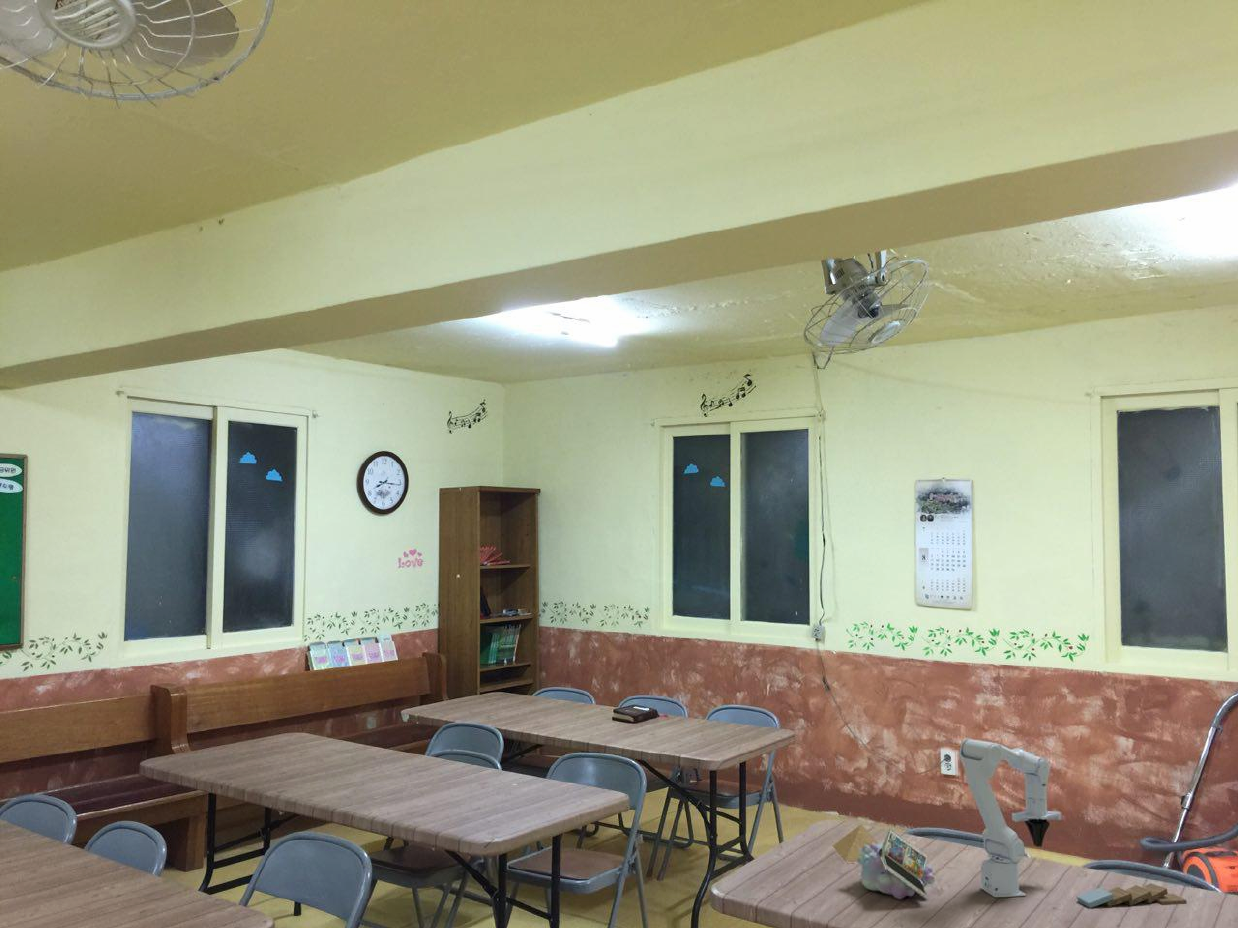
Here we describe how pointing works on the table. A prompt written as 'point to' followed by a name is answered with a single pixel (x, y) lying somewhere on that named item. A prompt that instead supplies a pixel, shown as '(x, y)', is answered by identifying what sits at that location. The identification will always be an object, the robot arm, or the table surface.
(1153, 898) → the domino
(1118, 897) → the domino
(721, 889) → the table surface
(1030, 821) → the robot arm
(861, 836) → the model pyramid
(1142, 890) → the domino
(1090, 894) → the domino
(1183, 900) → the domino
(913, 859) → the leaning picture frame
